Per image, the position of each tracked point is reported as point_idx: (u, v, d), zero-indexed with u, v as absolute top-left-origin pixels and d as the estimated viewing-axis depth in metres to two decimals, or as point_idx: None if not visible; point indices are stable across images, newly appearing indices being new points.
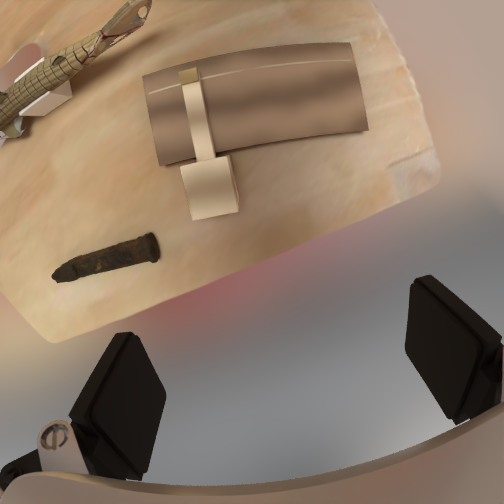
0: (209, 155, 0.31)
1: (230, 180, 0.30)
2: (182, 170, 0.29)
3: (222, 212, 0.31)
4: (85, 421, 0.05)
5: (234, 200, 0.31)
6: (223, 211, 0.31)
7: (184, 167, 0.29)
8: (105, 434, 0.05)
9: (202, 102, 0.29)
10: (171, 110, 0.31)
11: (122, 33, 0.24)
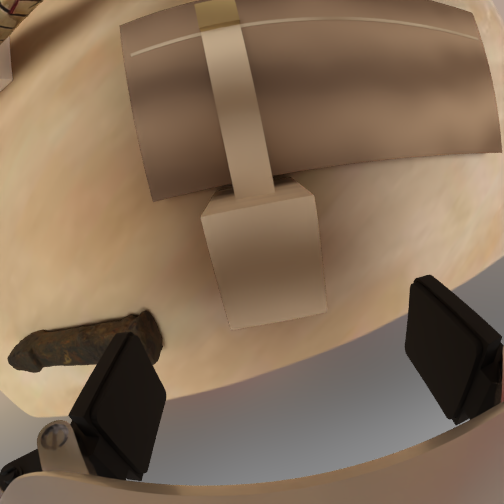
0: (263, 185, 0.14)
1: (318, 250, 0.13)
2: (206, 226, 0.13)
3: (295, 314, 0.14)
4: (85, 421, 0.05)
5: (322, 291, 0.14)
6: (297, 313, 0.14)
7: (211, 219, 0.13)
8: (105, 434, 0.05)
9: (247, 67, 0.12)
10: (175, 85, 0.14)
11: None
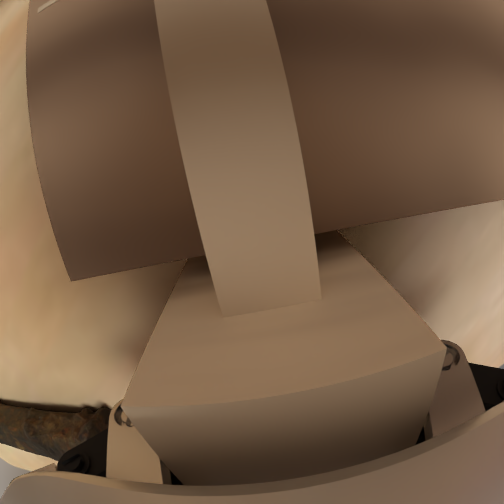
0: (293, 285, 0.06)
1: (412, 440, 0.04)
2: (142, 424, 0.04)
3: None
4: None
5: None
6: None
7: (150, 415, 0.04)
8: None
9: None
10: (99, 46, 0.06)
11: None
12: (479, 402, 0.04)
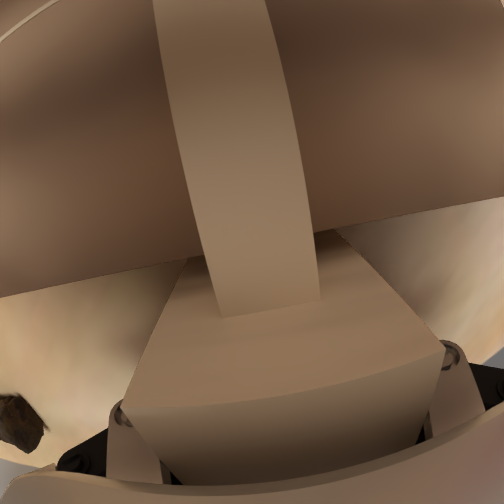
0: (293, 285, 0.06)
1: (411, 440, 0.04)
2: (141, 425, 0.04)
3: None
4: None
5: None
6: None
7: (150, 415, 0.04)
8: None
9: None
10: None
11: None
12: (479, 402, 0.04)
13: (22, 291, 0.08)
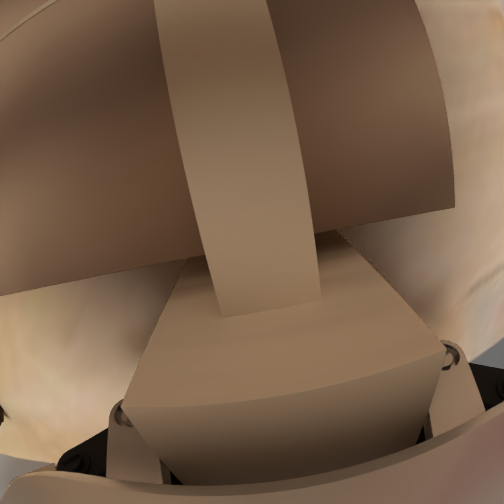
0: (293, 285, 0.06)
1: (412, 440, 0.04)
2: (142, 425, 0.04)
3: None
4: None
5: None
6: None
7: (150, 415, 0.04)
8: None
9: None
10: None
11: None
12: (479, 402, 0.04)
13: None
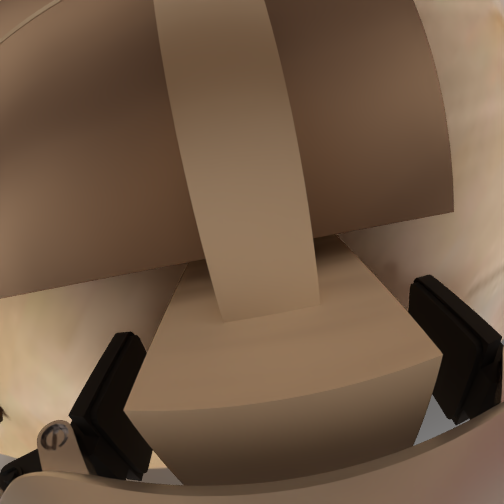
0: (293, 291, 0.06)
1: (409, 443, 0.04)
2: (144, 428, 0.04)
3: None
4: (85, 421, 0.05)
5: None
6: None
7: (153, 419, 0.04)
8: (105, 434, 0.05)
9: None
10: None
11: None
12: None
13: None
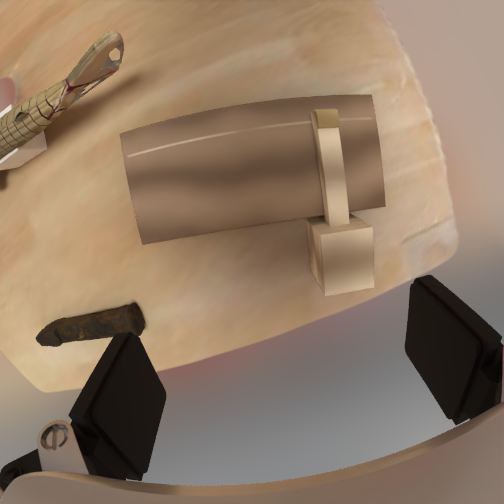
0: (344, 219, 0.27)
1: (372, 254, 0.26)
2: (322, 239, 0.25)
3: (358, 288, 0.27)
4: (85, 421, 0.05)
5: (372, 275, 0.26)
6: (359, 287, 0.27)
7: (325, 236, 0.25)
8: (105, 434, 0.05)
9: (341, 154, 0.25)
10: (153, 179, 0.28)
11: (93, 80, 0.21)
12: None
13: (193, 235, 0.29)
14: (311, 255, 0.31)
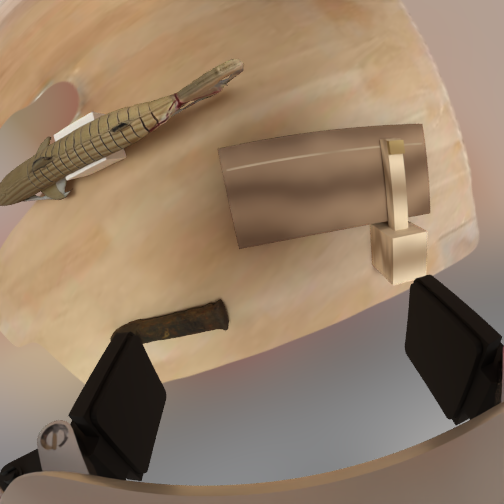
0: (404, 225, 0.32)
1: (426, 251, 0.31)
2: (394, 242, 0.31)
3: (415, 277, 0.32)
4: (85, 421, 0.05)
5: (425, 267, 0.32)
6: (416, 276, 0.32)
7: (396, 239, 0.30)
8: (105, 434, 0.05)
9: (404, 175, 0.30)
10: (252, 191, 0.33)
11: (197, 98, 0.26)
12: None
13: (286, 239, 0.35)
14: (375, 252, 0.37)
